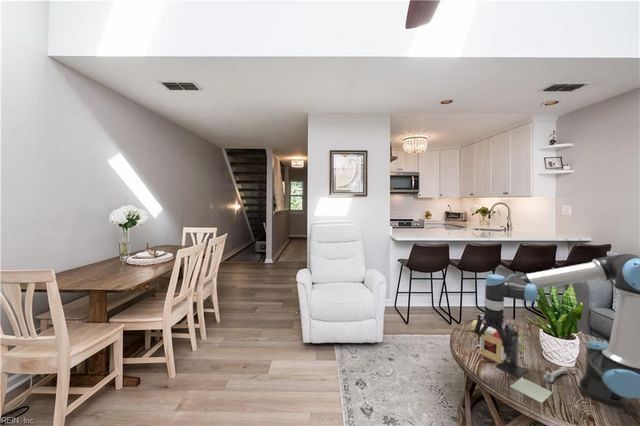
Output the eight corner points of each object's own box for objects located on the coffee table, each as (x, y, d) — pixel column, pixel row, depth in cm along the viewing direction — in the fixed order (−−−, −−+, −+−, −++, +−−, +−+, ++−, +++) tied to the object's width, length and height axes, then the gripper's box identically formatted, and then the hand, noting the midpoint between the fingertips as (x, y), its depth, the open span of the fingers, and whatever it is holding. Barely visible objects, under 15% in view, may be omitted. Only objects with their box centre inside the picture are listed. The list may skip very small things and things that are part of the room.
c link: (503, 362, 127) (504, 341, 127) (500, 363, 126) (501, 342, 126) (483, 352, 135) (484, 333, 135) (480, 354, 134) (481, 334, 133)
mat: (552, 393, 123) (552, 392, 123) (541, 403, 116) (541, 402, 116) (522, 378, 133) (522, 377, 133) (510, 387, 127) (510, 386, 127)
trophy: (469, 320, 180) (522, 339, 155) (476, 317, 184) (528, 335, 159) (469, 332, 181) (522, 353, 155) (475, 329, 185) (528, 349, 159)
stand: (526, 372, 138) (527, 341, 137) (510, 384, 129) (511, 350, 128) (504, 362, 146) (505, 332, 145) (488, 372, 137) (489, 341, 136)
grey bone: (540, 380, 132) (550, 385, 128) (541, 369, 132) (551, 374, 128) (560, 375, 139) (570, 379, 136) (561, 365, 139) (571, 369, 136)
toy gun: (521, 352, 154) (518, 328, 152) (492, 370, 146) (489, 345, 144) (511, 347, 159) (508, 324, 157) (483, 365, 151) (480, 340, 149)
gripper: (524, 314, 122) (522, 363, 123) (475, 299, 141) (473, 341, 142) (516, 318, 118) (514, 368, 119) (467, 301, 137) (465, 345, 138)
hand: (492, 354), depth 130 cm, fingers closed on c link, 9 cm apart
